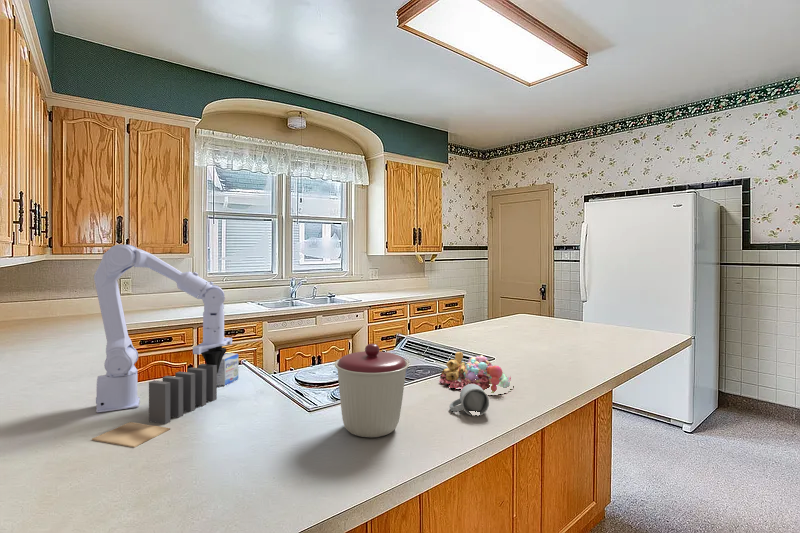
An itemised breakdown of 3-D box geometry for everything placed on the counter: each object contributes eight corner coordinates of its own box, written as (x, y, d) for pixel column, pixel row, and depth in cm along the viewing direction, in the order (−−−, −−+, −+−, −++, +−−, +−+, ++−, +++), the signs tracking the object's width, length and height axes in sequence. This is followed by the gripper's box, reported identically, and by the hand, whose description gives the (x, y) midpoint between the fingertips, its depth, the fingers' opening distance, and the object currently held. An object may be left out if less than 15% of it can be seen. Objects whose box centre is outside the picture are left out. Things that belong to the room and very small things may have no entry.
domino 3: (190, 411, 115) (190, 374, 115) (175, 409, 116) (175, 372, 116) (195, 409, 117) (195, 373, 116) (179, 407, 118) (179, 371, 118)
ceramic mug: (483, 406, 124) (483, 380, 124) (489, 416, 116) (489, 389, 116) (447, 406, 124) (447, 380, 123) (451, 416, 116) (451, 389, 116)
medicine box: (224, 386, 137) (224, 359, 137) (212, 385, 138) (212, 358, 138) (238, 379, 145) (239, 353, 144) (226, 378, 146) (226, 352, 145)
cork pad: (134, 447, 94) (134, 446, 94) (91, 440, 97) (91, 438, 97) (170, 429, 104) (170, 428, 104) (130, 423, 107) (130, 422, 107)
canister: (380, 453, 94) (382, 356, 93) (318, 433, 103) (319, 345, 103) (420, 425, 109) (422, 342, 108) (363, 410, 119) (364, 333, 118)
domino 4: (202, 406, 119) (202, 370, 119) (187, 404, 121) (187, 368, 120) (206, 404, 121) (206, 369, 120) (191, 402, 122) (191, 367, 122)
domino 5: (212, 401, 123) (213, 366, 123) (198, 399, 125) (198, 364, 124) (216, 399, 125) (216, 365, 125) (202, 397, 126) (202, 363, 126)
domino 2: (178, 417, 111) (178, 379, 111) (162, 415, 112) (162, 377, 112) (183, 415, 113) (183, 377, 112) (167, 413, 114) (167, 375, 113)
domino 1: (165, 424, 107) (165, 384, 106) (148, 421, 108) (148, 382, 108) (170, 421, 108) (170, 382, 108) (154, 419, 110) (154, 380, 109)
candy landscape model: (430, 388, 140) (430, 360, 139) (449, 370, 162) (450, 345, 161) (509, 400, 130) (510, 369, 130) (518, 379, 152) (519, 353, 152)
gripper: (208, 332, 119) (207, 381, 119) (240, 324, 133) (240, 368, 133) (186, 330, 120) (186, 379, 121) (221, 322, 134) (220, 366, 135)
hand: (213, 373), depth 127 cm, fingers closed
